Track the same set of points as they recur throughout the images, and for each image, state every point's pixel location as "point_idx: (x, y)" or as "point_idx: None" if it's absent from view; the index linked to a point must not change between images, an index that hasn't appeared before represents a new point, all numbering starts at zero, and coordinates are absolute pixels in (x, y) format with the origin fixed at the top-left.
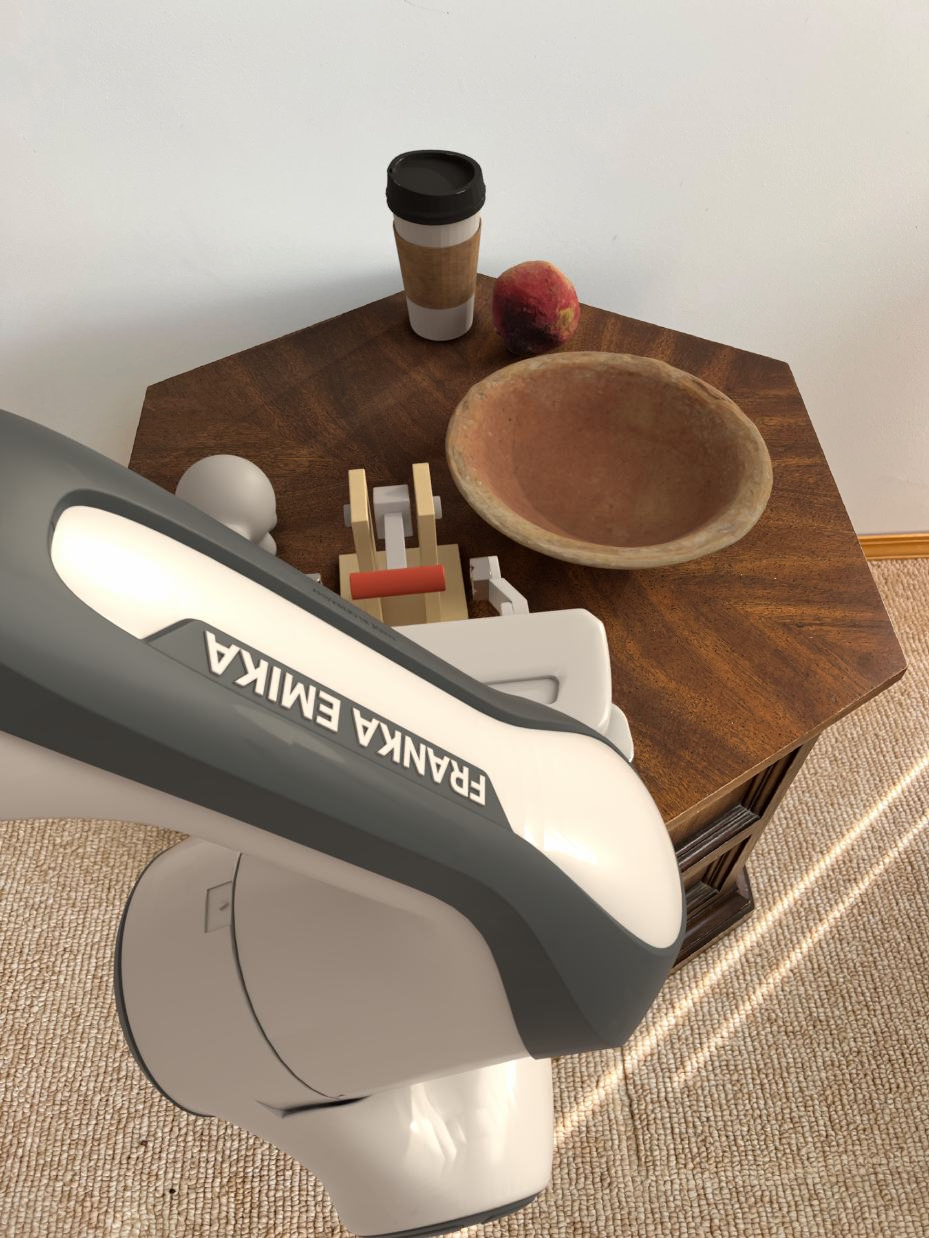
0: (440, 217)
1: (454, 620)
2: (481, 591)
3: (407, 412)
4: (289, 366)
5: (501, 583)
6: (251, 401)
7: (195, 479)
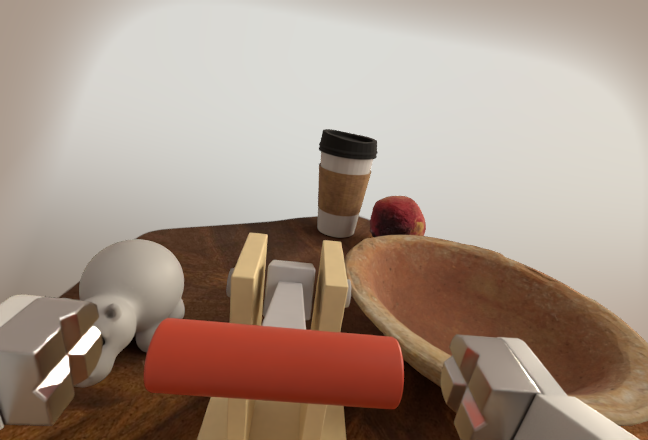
0: (351, 154)
1: None
2: (497, 427)
3: None
4: (238, 232)
5: (581, 412)
6: (205, 244)
7: (108, 249)
